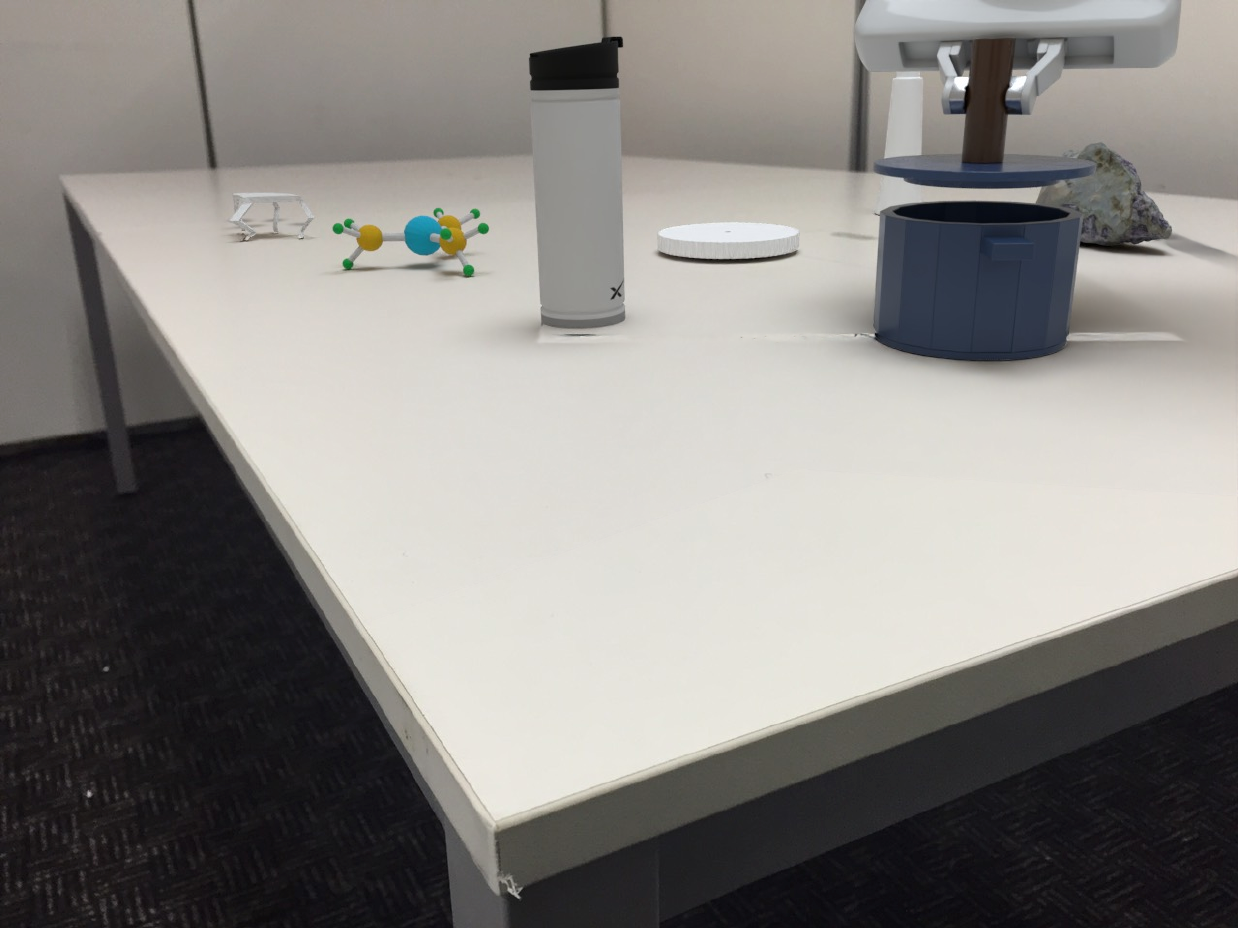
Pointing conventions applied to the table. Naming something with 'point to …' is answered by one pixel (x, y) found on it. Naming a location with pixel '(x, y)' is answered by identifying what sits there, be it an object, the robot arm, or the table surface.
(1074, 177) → the tin lid
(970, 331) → the tin
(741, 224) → the plastic lid
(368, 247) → the molecular model
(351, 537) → the table surface
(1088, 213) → the mineral rock
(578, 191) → the travel mug
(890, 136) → the cosmetic bottle
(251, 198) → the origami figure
